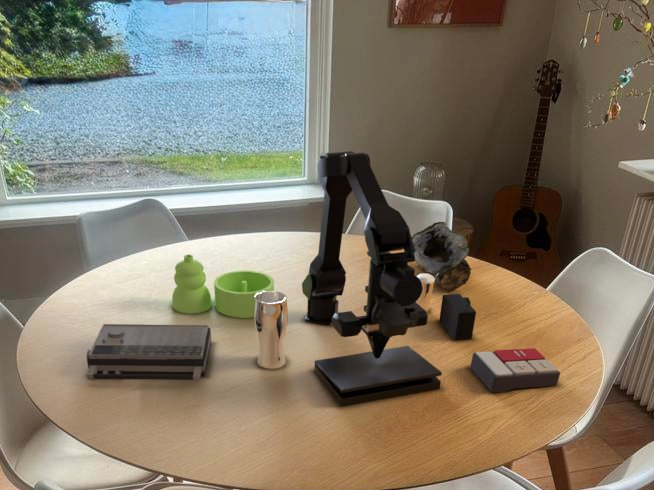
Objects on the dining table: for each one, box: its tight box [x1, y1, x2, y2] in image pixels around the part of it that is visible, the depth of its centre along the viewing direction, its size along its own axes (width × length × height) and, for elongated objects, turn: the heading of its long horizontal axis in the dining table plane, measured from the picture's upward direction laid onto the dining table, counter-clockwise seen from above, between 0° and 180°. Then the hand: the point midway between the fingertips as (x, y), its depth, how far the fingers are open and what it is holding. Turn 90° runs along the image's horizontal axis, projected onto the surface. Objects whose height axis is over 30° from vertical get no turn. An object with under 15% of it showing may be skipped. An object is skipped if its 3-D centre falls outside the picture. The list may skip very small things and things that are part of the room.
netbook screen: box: [314, 345, 443, 393], centre depth 150 cm, size 15×22×1 cm
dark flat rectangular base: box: [313, 364, 442, 408], centre depth 151 cm, size 15×22×2 cm
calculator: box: [469, 347, 561, 393], centre depth 153 cm, size 11×4×15 cm
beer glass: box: [253, 290, 289, 370], centre depth 153 cm, size 7×7×15 cm
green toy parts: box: [171, 254, 275, 319], centre depth 177 cm, size 25×14×13 cm, turn 93°
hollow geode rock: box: [403, 221, 473, 293], centre depth 194 cm, size 28×13×15 cm
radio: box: [86, 323, 212, 382], centre depth 155 cm, size 24×5×20 cm
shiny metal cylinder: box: [416, 273, 439, 313], centre depth 178 cm, size 5×5×10 cm
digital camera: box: [438, 293, 477, 341], centre depth 170 cm, size 10×5×7 cm, turn 12°
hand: (376, 357), depth 149 cm, fingers closed
